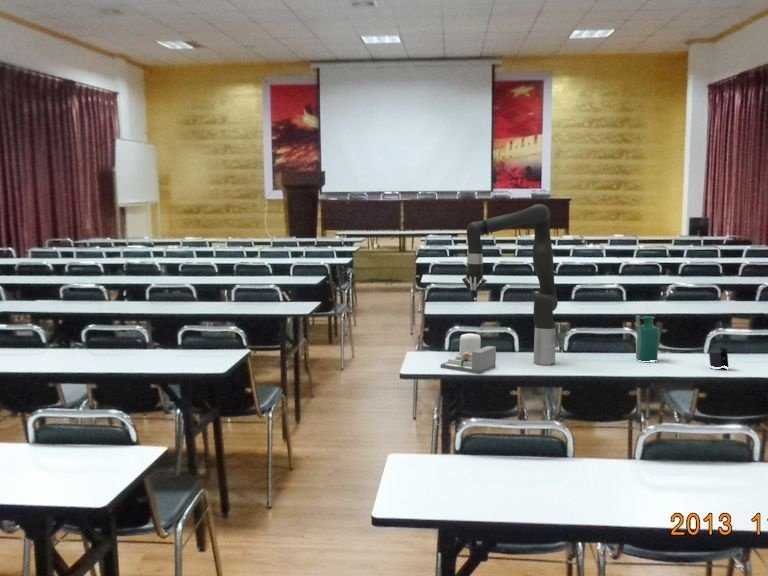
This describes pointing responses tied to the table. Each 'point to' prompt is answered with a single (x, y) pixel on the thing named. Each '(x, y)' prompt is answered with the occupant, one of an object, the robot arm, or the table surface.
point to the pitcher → (647, 339)
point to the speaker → (718, 357)
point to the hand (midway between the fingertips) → (474, 297)
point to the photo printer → (469, 343)
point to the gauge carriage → (466, 357)
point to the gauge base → (474, 361)
